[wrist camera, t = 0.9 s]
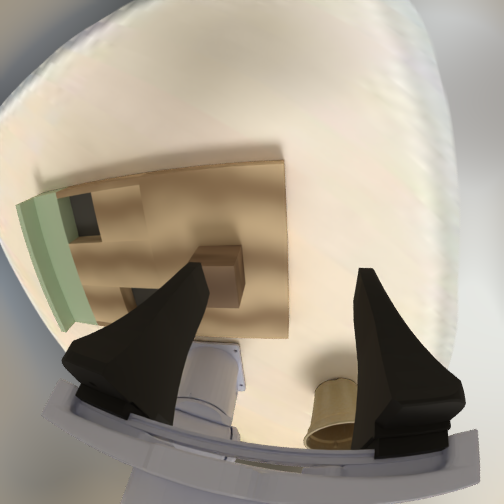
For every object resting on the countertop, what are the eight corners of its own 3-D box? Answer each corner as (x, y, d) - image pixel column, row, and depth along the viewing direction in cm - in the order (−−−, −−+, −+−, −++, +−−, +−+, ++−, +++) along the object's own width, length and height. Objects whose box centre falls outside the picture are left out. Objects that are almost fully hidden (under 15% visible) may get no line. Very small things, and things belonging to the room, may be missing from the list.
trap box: (288, 324, 32) (287, 354, 27) (79, 311, 36) (61, 331, 31) (283, 160, 24) (283, 168, 20) (42, 193, 28) (15, 205, 24)
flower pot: (311, 367, 35) (313, 421, 27) (377, 370, 34) (388, 420, 26) (298, 405, 39) (296, 453, 31) (355, 407, 38) (361, 452, 30)
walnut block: (245, 283, 27) (239, 308, 24) (205, 283, 28) (193, 307, 24) (241, 245, 26) (234, 266, 22) (198, 246, 26) (185, 266, 22)
